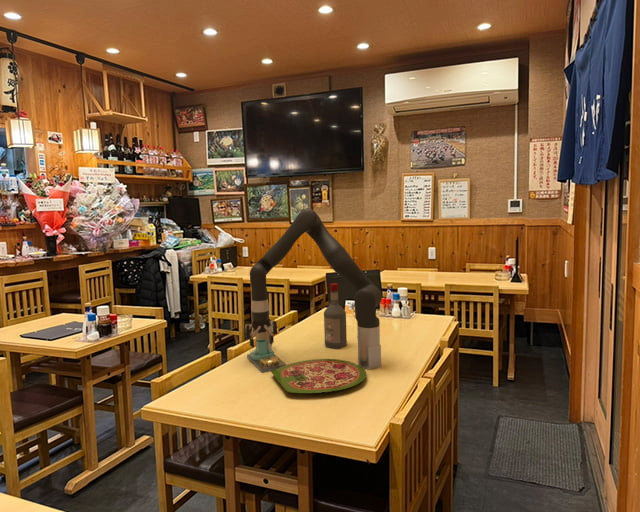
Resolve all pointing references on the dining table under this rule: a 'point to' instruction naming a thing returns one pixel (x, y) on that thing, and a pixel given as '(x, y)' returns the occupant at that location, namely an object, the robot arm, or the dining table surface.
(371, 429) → the dining table surface
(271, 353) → the teal flanged hub
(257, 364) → the plate
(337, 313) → the liquor
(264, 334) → the coffee cup
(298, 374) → the pizza
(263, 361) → the sun gear
